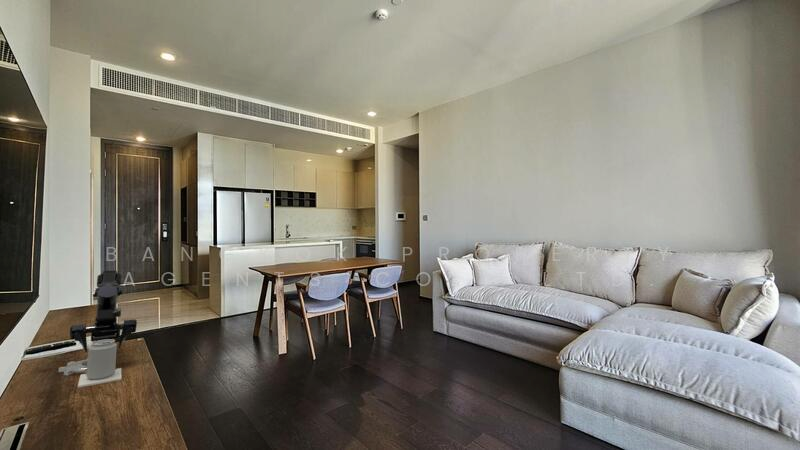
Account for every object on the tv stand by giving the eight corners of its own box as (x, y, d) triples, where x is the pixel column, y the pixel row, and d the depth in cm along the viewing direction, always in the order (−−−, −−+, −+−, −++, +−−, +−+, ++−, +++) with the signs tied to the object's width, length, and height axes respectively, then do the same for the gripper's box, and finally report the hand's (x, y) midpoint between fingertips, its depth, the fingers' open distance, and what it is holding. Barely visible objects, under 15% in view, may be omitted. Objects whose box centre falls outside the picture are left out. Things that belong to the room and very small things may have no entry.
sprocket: (61, 364, 128) (61, 359, 128) (115, 356, 138) (115, 352, 138) (55, 378, 116) (56, 373, 116) (115, 369, 126) (115, 364, 126)
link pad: (80, 376, 118) (80, 374, 118) (121, 369, 125) (121, 367, 125) (77, 387, 110) (77, 385, 110) (121, 379, 117) (121, 377, 117)
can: (105, 380, 115) (107, 344, 115) (80, 381, 114) (83, 344, 114) (119, 371, 122) (122, 338, 123) (96, 372, 121) (99, 338, 121)
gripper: (72, 302, 121) (66, 342, 112) (138, 298, 133) (137, 334, 124) (73, 320, 127) (67, 358, 118) (136, 314, 139) (135, 349, 130)
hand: (103, 349), depth 122 cm, fingers open, 9 cm apart
